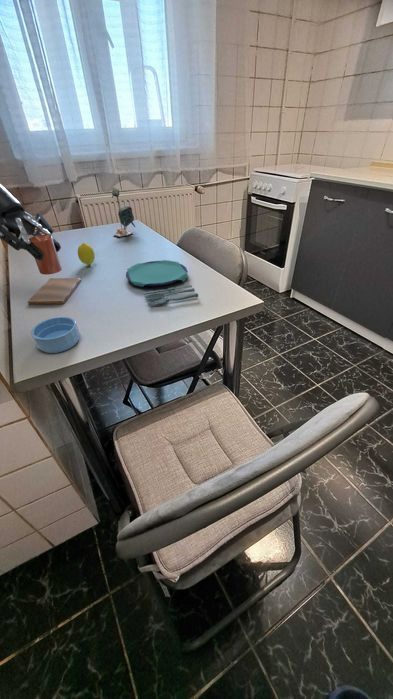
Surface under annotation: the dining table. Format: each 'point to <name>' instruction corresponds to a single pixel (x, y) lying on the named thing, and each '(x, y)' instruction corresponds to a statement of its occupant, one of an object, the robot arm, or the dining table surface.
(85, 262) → the lemon
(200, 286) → the dining table surface
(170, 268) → the cutlery set
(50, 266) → the terracotta cylindrical canister
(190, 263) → the dining table surface
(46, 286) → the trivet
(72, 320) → the bowl
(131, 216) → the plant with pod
